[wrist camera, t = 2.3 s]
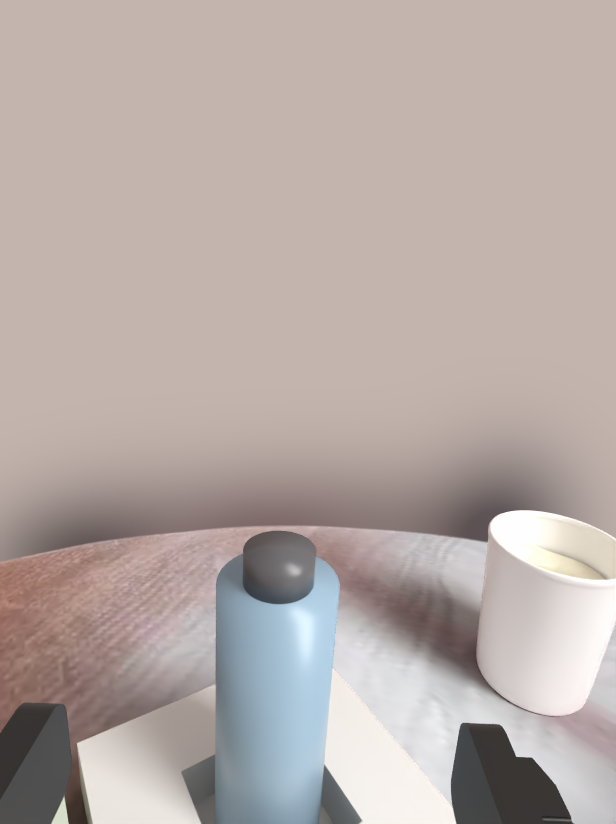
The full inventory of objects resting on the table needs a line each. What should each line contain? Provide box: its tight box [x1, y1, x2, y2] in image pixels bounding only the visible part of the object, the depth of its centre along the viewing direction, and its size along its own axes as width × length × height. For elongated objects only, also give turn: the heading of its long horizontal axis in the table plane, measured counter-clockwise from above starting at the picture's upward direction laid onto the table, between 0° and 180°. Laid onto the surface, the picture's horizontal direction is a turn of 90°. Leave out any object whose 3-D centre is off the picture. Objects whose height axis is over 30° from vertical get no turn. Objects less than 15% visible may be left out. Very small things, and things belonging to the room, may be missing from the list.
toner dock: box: [77, 667, 456, 824], centre depth 26 cm, size 16×16×4 cm
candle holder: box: [476, 510, 616, 716], centre depth 38 cm, size 10×10×12 cm
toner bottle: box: [215, 531, 340, 824], centre depth 24 cm, size 6×6×18 cm
